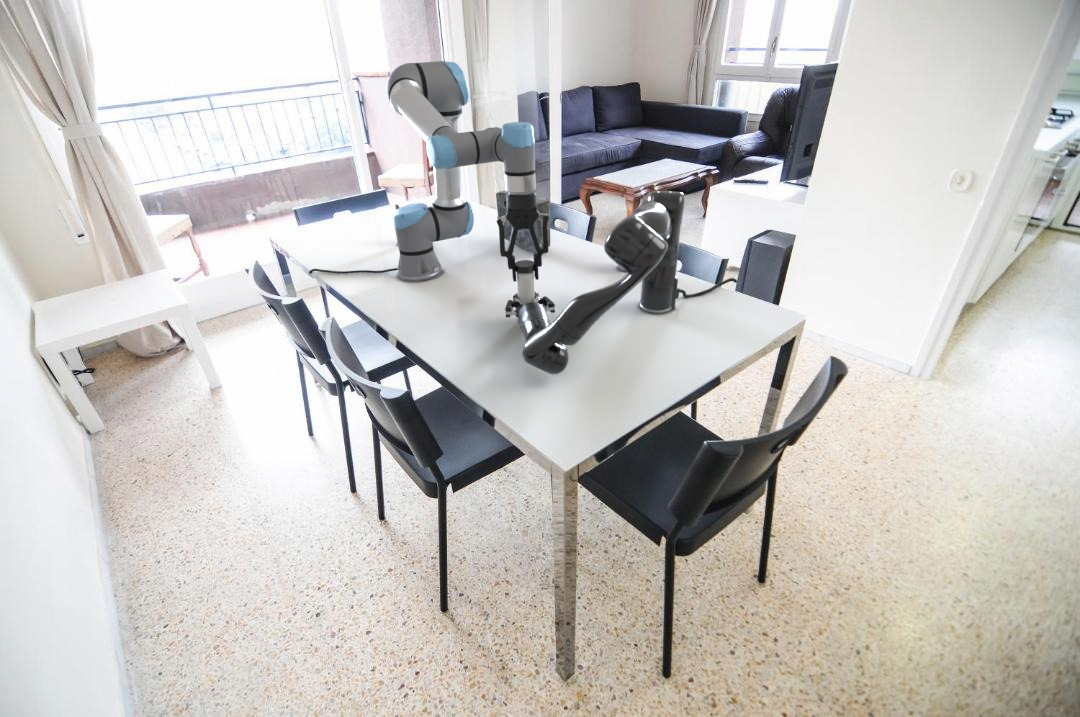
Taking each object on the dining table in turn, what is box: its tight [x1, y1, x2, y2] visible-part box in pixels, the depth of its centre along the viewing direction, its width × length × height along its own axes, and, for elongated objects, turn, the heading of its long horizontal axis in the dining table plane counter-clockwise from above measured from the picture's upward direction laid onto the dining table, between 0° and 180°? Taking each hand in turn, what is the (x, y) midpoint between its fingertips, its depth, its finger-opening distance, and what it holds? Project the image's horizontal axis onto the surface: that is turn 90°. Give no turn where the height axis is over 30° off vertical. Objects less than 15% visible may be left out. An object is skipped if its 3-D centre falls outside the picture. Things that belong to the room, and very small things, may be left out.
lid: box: [515, 259, 535, 274], centre depth 134 cm, size 5×5×2 cm
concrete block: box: [495, 189, 551, 252], centre depth 191 cm, size 27×9×20 cm, turn 36°
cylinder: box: [516, 271, 535, 303], centre depth 138 cm, size 4×4×17 cm
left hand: (525, 278), depth 135 cm, fingers closed on lid, 5 cm apart
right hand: (525, 295), depth 141 cm, fingers closed on cylinder, 4 cm apart
